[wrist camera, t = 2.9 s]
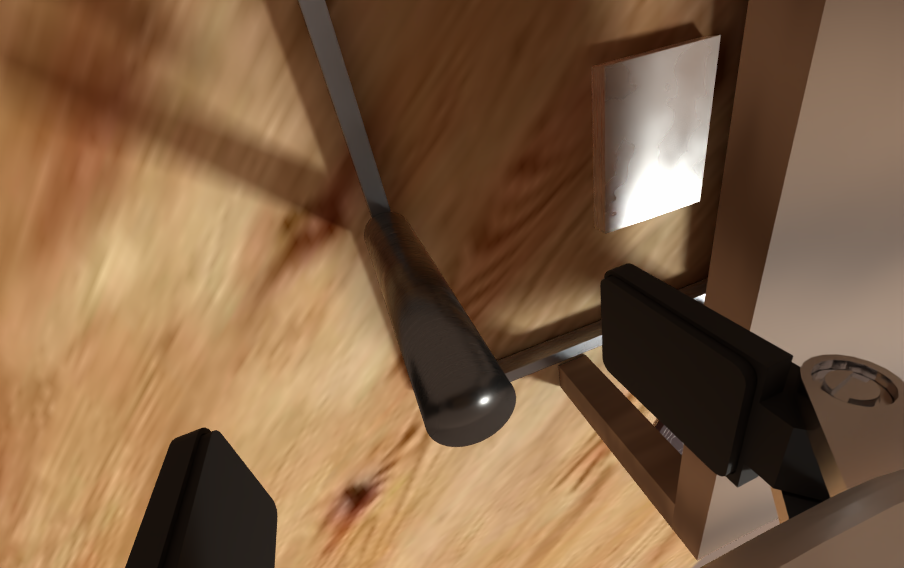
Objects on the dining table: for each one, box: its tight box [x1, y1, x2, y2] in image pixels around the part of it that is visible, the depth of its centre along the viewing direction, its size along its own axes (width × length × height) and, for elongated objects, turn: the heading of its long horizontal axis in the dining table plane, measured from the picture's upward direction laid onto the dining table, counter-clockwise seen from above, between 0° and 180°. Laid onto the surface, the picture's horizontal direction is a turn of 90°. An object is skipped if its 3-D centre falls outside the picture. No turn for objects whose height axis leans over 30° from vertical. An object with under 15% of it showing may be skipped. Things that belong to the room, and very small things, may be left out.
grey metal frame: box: [298, 0, 708, 447], centre depth 15 cm, size 22×22×12 cm
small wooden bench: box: [559, 0, 904, 560], centre depth 16 cm, size 30×12×12 cm, turn 13°
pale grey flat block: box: [591, 35, 721, 234], centre depth 20 cm, size 8×6×2 cm
